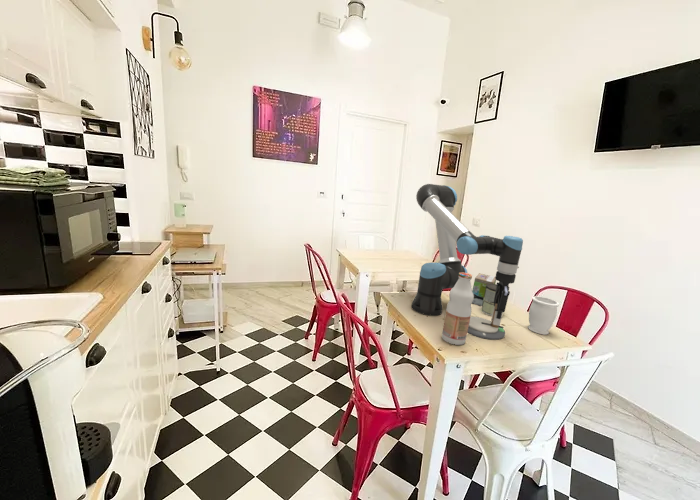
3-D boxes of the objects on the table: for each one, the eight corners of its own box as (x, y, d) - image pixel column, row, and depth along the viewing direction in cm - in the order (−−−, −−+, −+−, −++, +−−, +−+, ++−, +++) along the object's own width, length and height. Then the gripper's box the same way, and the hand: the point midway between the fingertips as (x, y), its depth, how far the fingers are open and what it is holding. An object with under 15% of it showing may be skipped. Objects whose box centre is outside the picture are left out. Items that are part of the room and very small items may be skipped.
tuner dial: (465, 328, 133) (470, 304, 131) (463, 316, 147) (468, 294, 144) (505, 337, 129) (511, 312, 127) (500, 323, 142) (505, 301, 140)
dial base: (459, 333, 131) (459, 330, 131) (455, 315, 150) (456, 313, 150) (509, 343, 127) (510, 340, 126) (499, 324, 146) (500, 321, 145)
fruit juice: (438, 340, 123) (450, 273, 117) (444, 331, 131) (455, 269, 126) (463, 348, 119) (476, 279, 113) (466, 338, 127) (479, 274, 121)
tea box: (488, 308, 165) (494, 282, 162) (469, 303, 170) (474, 277, 167) (492, 300, 178) (497, 276, 175) (473, 296, 183) (478, 272, 180)
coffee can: (478, 307, 165) (483, 282, 162) (498, 310, 164) (503, 285, 161) (484, 315, 155) (490, 288, 152) (505, 318, 154) (511, 291, 151)
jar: (520, 326, 146) (527, 296, 143) (535, 324, 150) (542, 295, 146) (540, 337, 136) (548, 305, 133) (556, 335, 140) (564, 304, 137)
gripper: (521, 278, 123) (508, 332, 128) (511, 269, 138) (500, 317, 143) (501, 275, 124) (489, 328, 129) (493, 266, 140) (483, 314, 145)
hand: (495, 322), depth 136 cm, fingers closed on tuner dial, 3 cm apart
